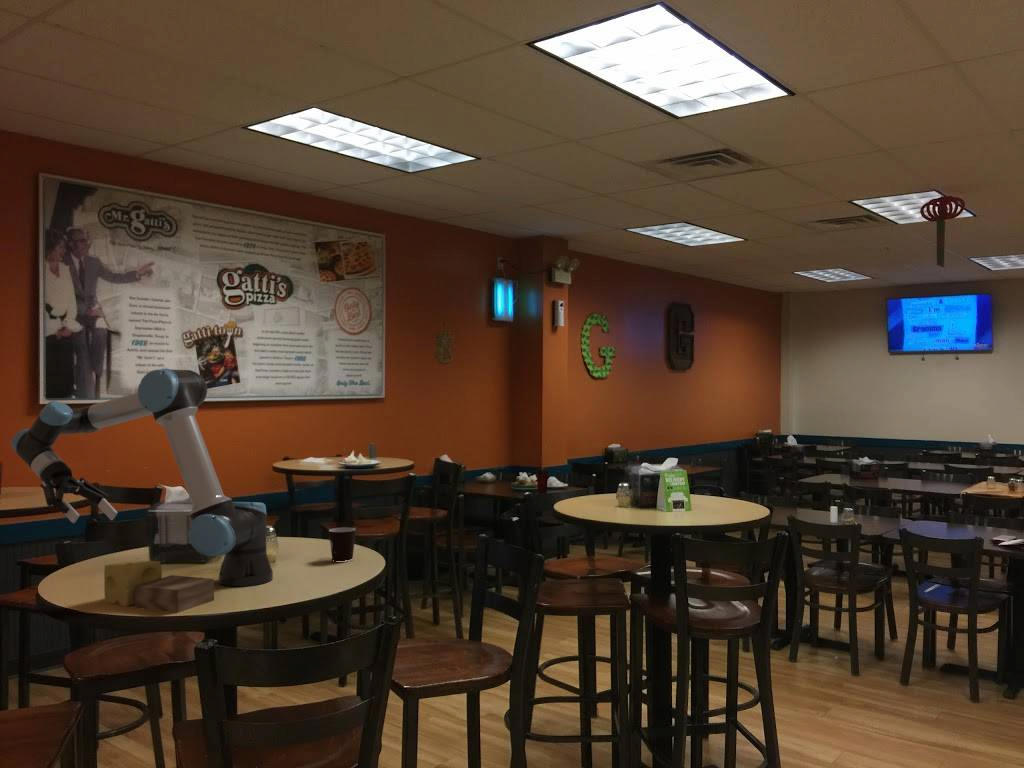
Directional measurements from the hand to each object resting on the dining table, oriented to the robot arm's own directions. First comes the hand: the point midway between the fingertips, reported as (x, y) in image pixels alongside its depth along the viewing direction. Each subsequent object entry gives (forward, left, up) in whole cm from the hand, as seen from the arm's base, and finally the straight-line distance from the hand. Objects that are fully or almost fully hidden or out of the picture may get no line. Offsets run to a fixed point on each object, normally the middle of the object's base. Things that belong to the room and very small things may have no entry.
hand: (95, 517), depth 234 cm
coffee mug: (-45, -58, -20) cm, 76 cm away
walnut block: (-32, +6, -21) cm, 39 cm away
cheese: (-18, +6, -21) cm, 28 cm away
